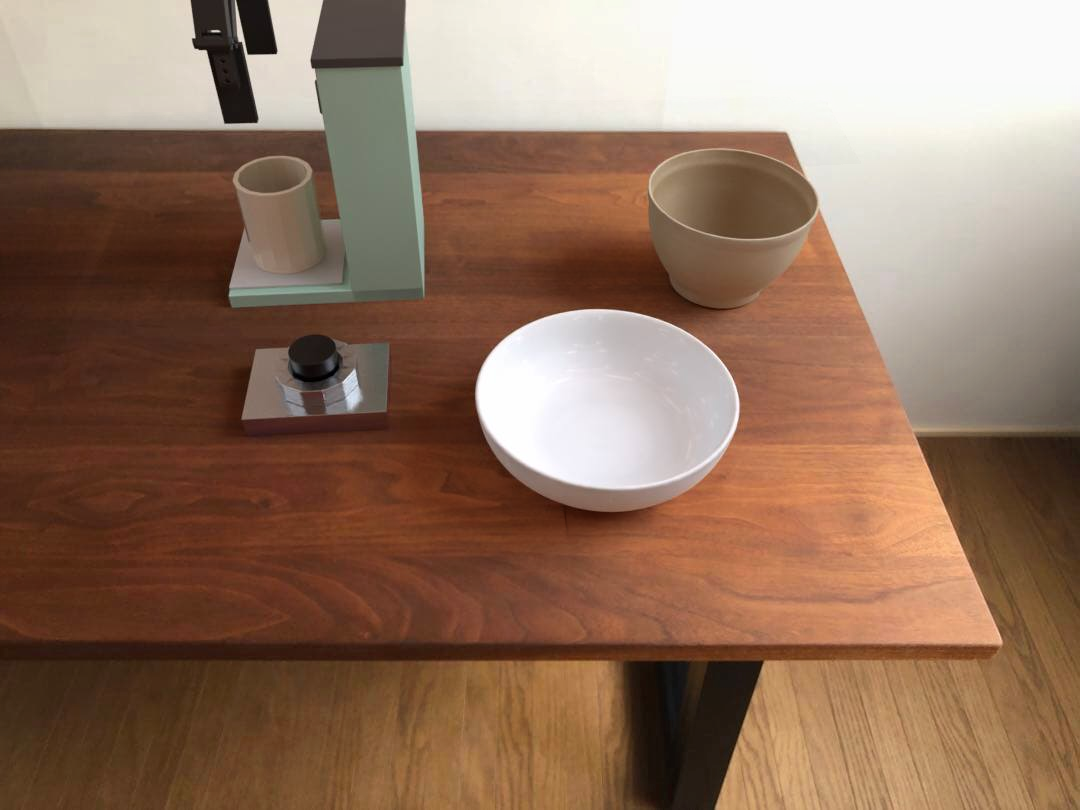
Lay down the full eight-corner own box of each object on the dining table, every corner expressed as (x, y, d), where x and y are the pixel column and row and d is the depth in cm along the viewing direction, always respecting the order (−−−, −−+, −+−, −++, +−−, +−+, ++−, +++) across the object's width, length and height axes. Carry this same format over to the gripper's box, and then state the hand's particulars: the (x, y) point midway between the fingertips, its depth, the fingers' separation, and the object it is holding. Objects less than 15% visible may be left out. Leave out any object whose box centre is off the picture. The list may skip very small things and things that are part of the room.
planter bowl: (647, 333, 86) (659, 239, 79) (630, 238, 98) (639, 147, 90) (811, 332, 87) (839, 238, 79) (776, 238, 98) (797, 147, 91)
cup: (248, 275, 89) (227, 196, 83) (258, 234, 94) (239, 157, 88) (323, 272, 90) (308, 193, 83) (329, 231, 95) (315, 154, 89)
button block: (246, 437, 76) (236, 404, 73) (260, 366, 82) (251, 333, 80) (389, 429, 77) (383, 396, 74) (391, 360, 83) (387, 326, 80)
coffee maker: (231, 309, 88) (159, 63, 71) (250, 233, 98) (190, -1, 80) (426, 300, 90) (402, 56, 72) (426, 226, 99) (405, -5, 82)
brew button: (289, 384, 75) (285, 366, 74) (294, 353, 78) (290, 335, 77) (337, 381, 76) (334, 363, 74) (341, 350, 79) (337, 332, 77)
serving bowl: (752, 540, 69) (769, 482, 64) (481, 553, 68) (477, 495, 63) (699, 360, 84) (710, 302, 79) (476, 369, 82) (472, 310, 78)
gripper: (216, -153, 56) (279, 154, 71) (266, -231, 74) (308, 28, 89) (93, -153, 56) (182, 156, 70) (173, -232, 73) (231, 29, 88)
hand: (252, 85), depth 80 cm, fingers open, 13 cm apart
